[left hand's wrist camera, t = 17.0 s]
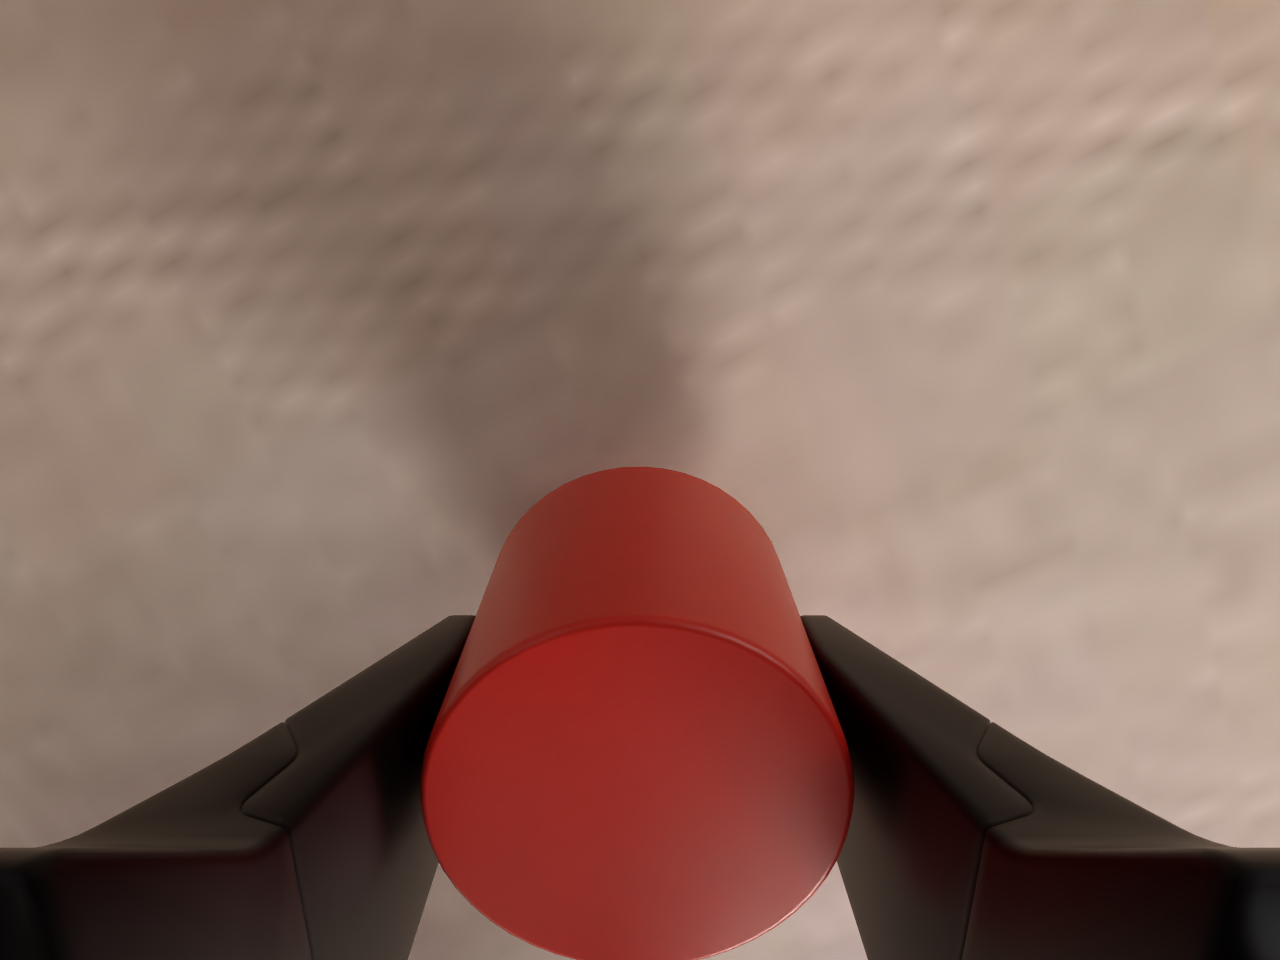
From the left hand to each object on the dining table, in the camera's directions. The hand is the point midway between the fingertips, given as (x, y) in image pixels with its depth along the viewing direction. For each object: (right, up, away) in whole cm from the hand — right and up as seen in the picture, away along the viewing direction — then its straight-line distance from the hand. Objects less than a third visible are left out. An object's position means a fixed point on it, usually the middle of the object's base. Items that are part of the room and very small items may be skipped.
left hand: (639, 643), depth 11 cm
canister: (0, 0, +1) cm, 1 cm away
